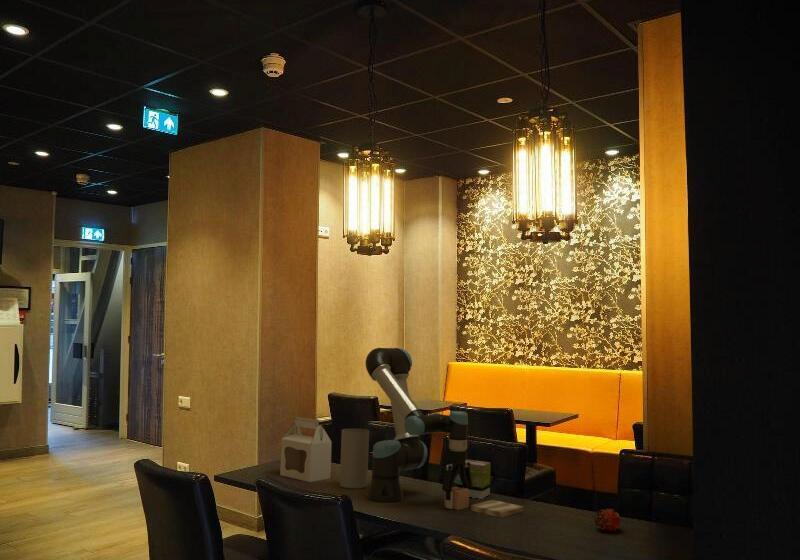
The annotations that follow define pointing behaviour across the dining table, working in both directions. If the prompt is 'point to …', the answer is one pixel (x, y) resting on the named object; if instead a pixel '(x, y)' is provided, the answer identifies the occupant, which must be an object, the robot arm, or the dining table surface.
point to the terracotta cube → (459, 498)
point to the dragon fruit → (607, 519)
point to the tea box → (477, 479)
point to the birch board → (497, 508)
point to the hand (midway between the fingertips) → (456, 506)
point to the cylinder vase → (354, 458)
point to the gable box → (298, 445)
